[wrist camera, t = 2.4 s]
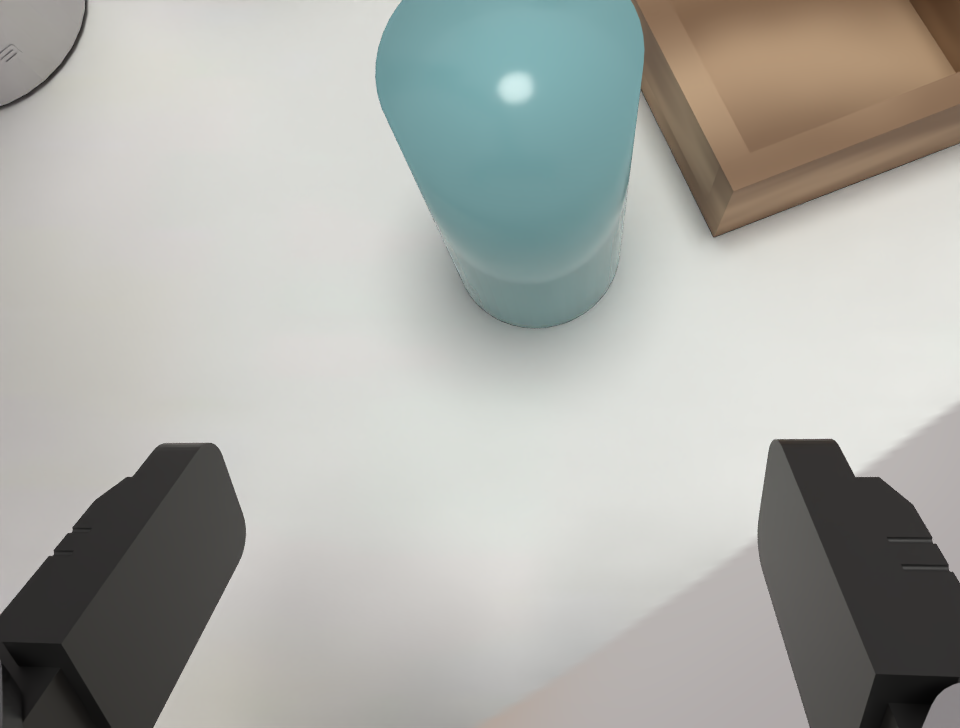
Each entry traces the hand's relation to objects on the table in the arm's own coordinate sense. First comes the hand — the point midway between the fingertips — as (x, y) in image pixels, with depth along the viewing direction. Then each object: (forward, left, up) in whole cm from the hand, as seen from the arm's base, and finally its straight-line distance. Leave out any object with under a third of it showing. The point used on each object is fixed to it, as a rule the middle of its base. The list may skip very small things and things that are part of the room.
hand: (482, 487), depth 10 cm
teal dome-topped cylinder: (-9, +3, -14) cm, 17 cm away
